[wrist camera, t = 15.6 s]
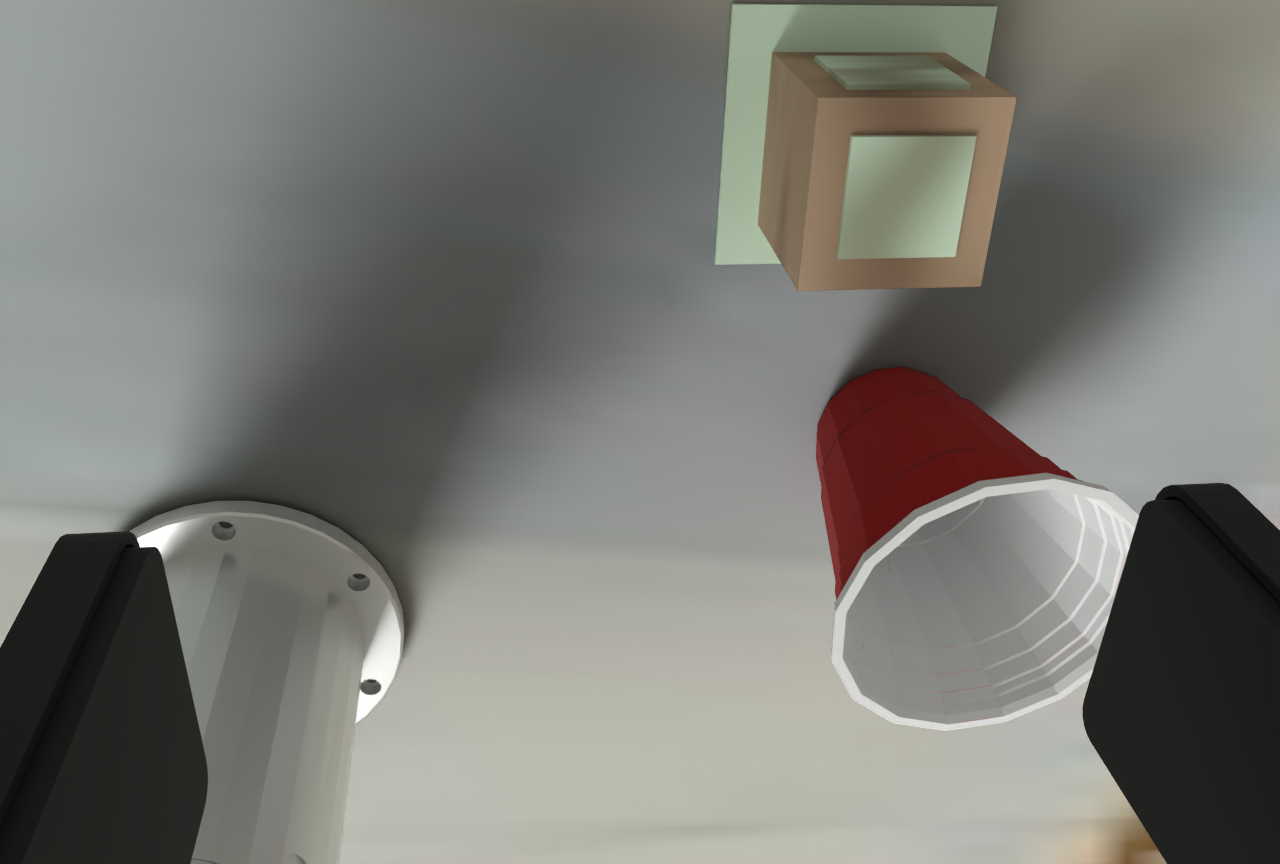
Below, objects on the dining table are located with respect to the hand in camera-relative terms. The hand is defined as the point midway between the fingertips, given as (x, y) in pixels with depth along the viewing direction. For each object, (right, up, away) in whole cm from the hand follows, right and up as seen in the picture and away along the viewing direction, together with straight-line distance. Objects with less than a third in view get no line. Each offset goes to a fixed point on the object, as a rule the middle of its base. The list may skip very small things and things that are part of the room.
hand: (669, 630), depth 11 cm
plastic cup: (+10, +2, +36) cm, 37 cm away
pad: (+7, +12, +29) cm, 32 cm away
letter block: (+7, +12, +29) cm, 32 cm away
